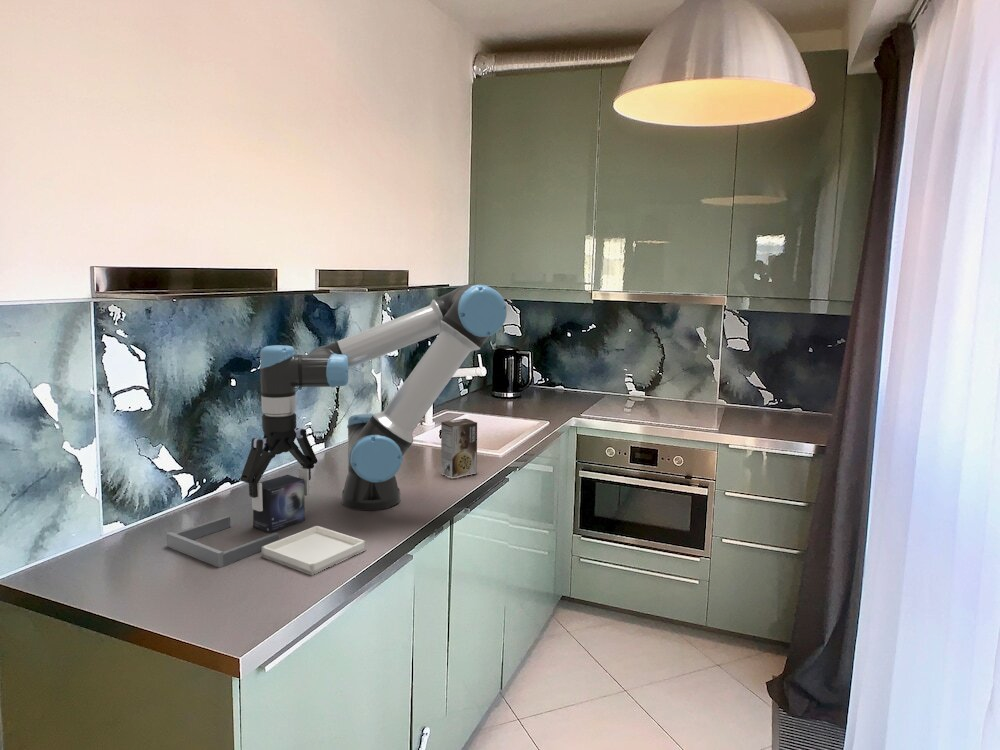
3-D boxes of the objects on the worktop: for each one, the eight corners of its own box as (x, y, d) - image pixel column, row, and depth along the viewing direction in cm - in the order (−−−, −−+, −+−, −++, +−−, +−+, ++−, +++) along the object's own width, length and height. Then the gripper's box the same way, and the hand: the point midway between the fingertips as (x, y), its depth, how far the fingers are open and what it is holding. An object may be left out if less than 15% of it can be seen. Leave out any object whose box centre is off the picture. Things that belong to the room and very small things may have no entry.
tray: (317, 534, 158) (316, 525, 158) (366, 550, 150) (366, 541, 150) (261, 556, 146) (261, 546, 145) (312, 575, 138) (311, 565, 137)
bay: (227, 526, 162) (227, 513, 162) (279, 544, 153) (279, 531, 152) (166, 546, 150) (166, 533, 149) (219, 567, 140) (218, 553, 140)
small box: (270, 534, 158) (269, 489, 157) (251, 527, 162) (250, 484, 160) (306, 520, 167) (305, 478, 166) (288, 515, 171) (287, 473, 169)
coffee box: (465, 469, 213) (466, 417, 210) (477, 474, 208) (478, 421, 205) (439, 474, 207) (440, 421, 205) (451, 479, 202) (452, 425, 200)
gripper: (309, 402, 172) (311, 485, 176) (221, 420, 152) (225, 513, 155) (331, 406, 168) (332, 491, 172) (243, 425, 148) (247, 520, 151)
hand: (281, 502), depth 163 cm, fingers open, 13 cm apart
